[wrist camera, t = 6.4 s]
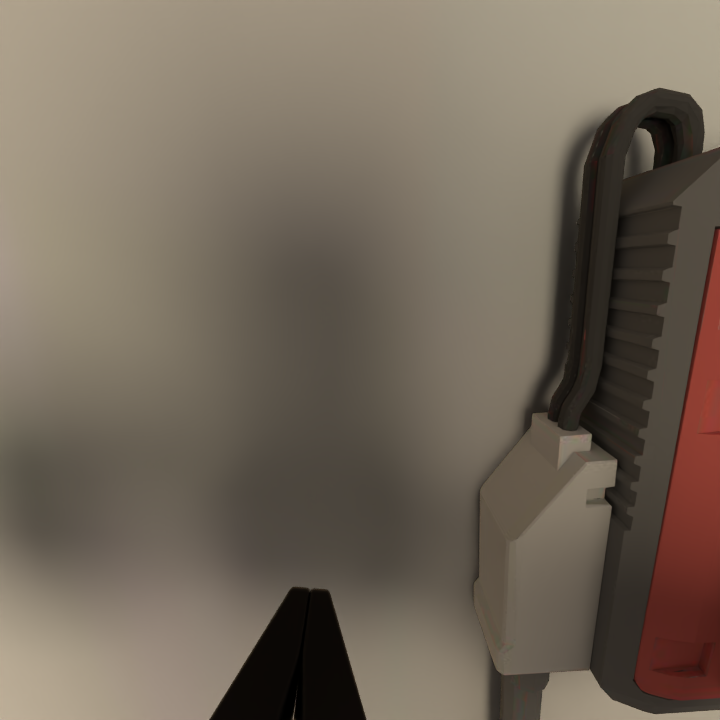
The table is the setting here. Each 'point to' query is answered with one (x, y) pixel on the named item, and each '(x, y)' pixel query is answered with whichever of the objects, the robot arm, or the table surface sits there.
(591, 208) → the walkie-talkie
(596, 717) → the table surface
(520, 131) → the table surface
